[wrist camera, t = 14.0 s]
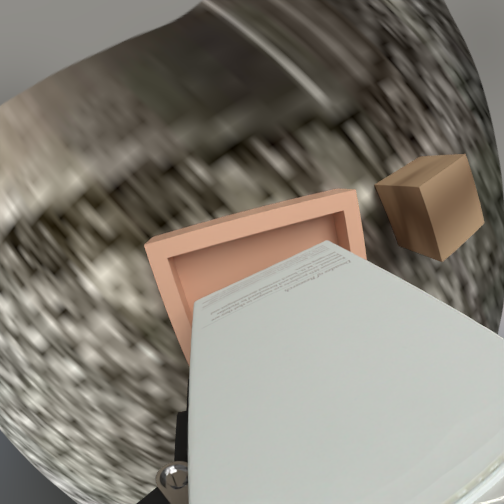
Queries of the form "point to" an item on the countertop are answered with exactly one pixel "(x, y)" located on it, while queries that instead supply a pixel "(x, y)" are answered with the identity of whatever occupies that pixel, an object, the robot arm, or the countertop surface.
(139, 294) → the countertop surface
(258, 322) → the supplement box
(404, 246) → the walnut block
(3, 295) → the countertop surface
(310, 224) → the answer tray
